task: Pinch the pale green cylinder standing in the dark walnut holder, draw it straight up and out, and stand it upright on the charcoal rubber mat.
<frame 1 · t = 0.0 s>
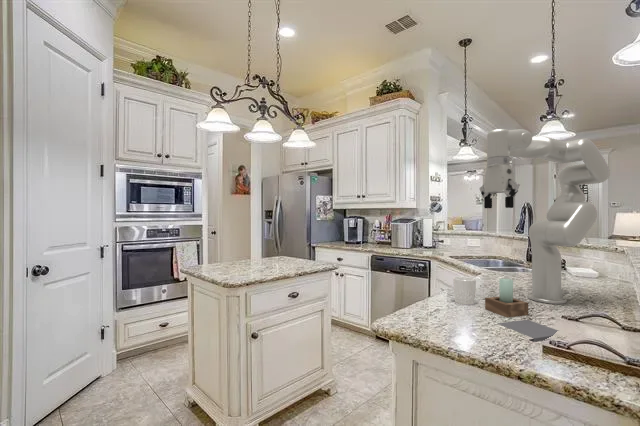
hand: (498, 208, 119), 37 cm above the counter, tool pointing down, fingers open, 9 cm apart
holder: (506, 314, 107), on the counter
white cup: (464, 305, 119), on the counter
pale green cylinder: (506, 311, 107), point 1 cm above the counter, touching holder
mat: (530, 331, 92), on the counter
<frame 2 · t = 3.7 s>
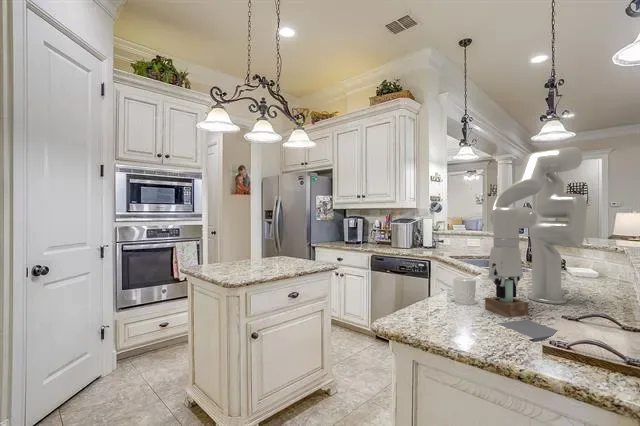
hand: (506, 296, 107), 6 cm above the counter, tool pointing down, fingers closed on pale green cylinder, 4 cm apart
pale green cylinder: (506, 311, 107), point 1 cm above the counter, touching gripper, holder
everything else where it was.
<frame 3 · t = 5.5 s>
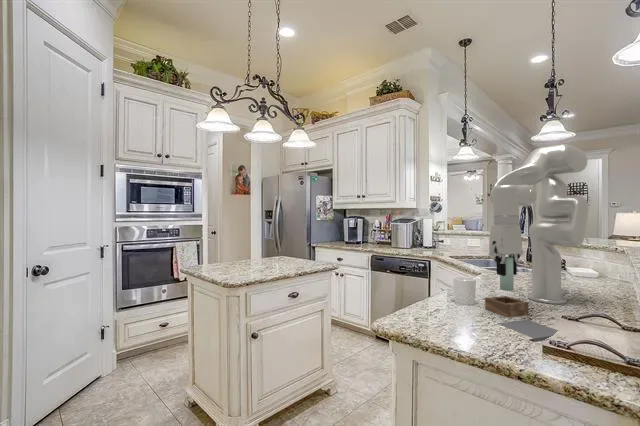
hand: (506, 274, 107), 14 cm above the counter, tool pointing down, fingers closed on pale green cylinder, 4 cm apart
pale green cylinder: (506, 289, 107), point 9 cm above the counter, touching gripper
everything else where it was.
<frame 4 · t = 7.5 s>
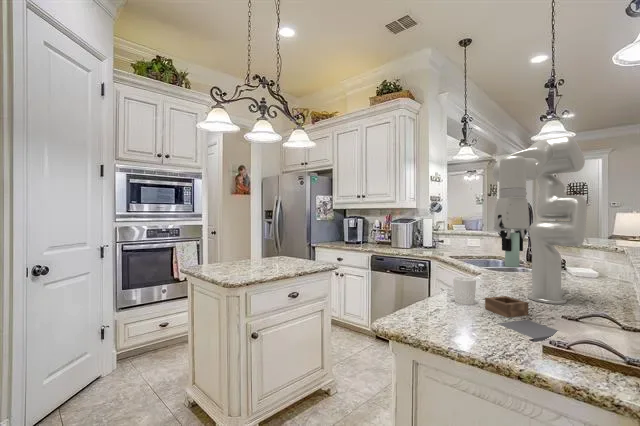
hand: (512, 250, 102), 23 cm above the counter, tool pointing down, fingers closed on pale green cylinder, 4 cm apart
pale green cylinder: (512, 266, 102), point 17 cm above the counter, touching gripper
everything else where it was.
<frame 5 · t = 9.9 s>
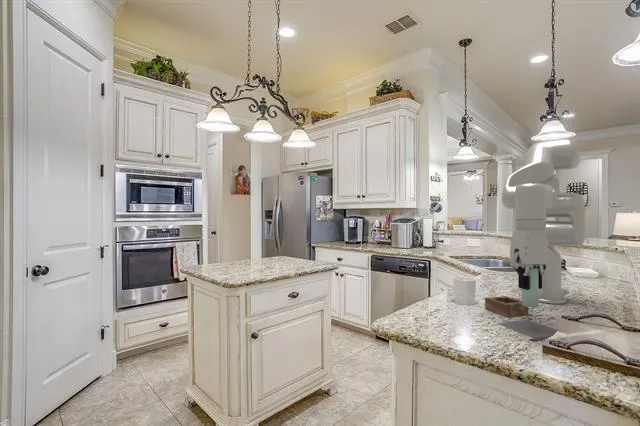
hand: (530, 287, 92), 13 cm above the counter, tool pointing down, fingers closed on pale green cylinder, 4 cm apart
pale green cylinder: (530, 305, 92), point 8 cm above the counter, touching gripper
everything else where it was.
when the fingers open (7 cm above the counter, at t = 11.7 s): pale green cylinder stays where it is, resting on mat.
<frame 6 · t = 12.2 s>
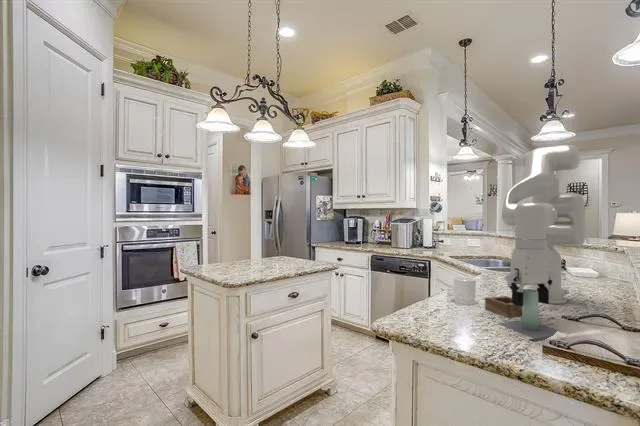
hand: (530, 303, 92), 8 cm above the counter, tool pointing down, fingers open, 9 cm apart
pale green cylinder: (530, 328, 92), point 1 cm above the counter, touching mat
everything else where it was.
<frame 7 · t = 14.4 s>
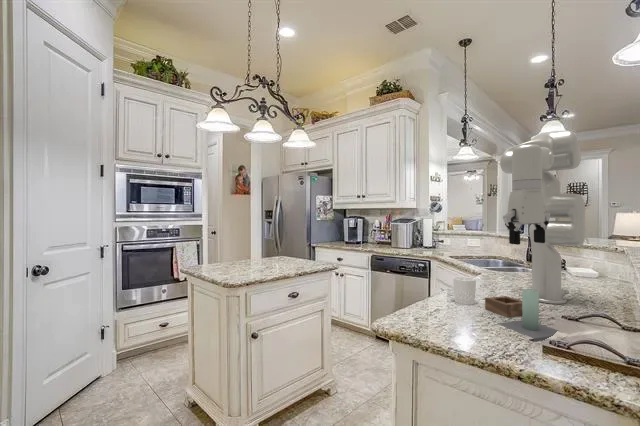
hand: (527, 243, 95), 26 cm above the counter, tool pointing down, fingers open, 9 cm apart
nothing on the counter moved.
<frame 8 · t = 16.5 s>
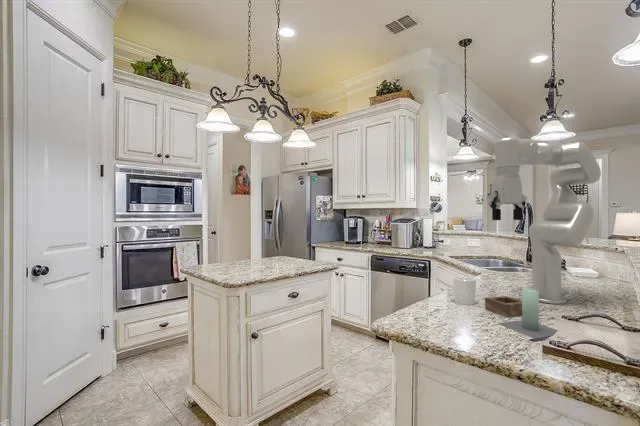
hand: (507, 220, 113), 32 cm above the counter, tool pointing down, fingers open, 9 cm apart
nothing on the counter moved.
at the end: pale green cylinder inside the target area on the mat (0.0 cm from its centre), point 1.0 cm above the mat's base; pale green cylinder tilted 0°; the gripper is holding nothing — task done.
